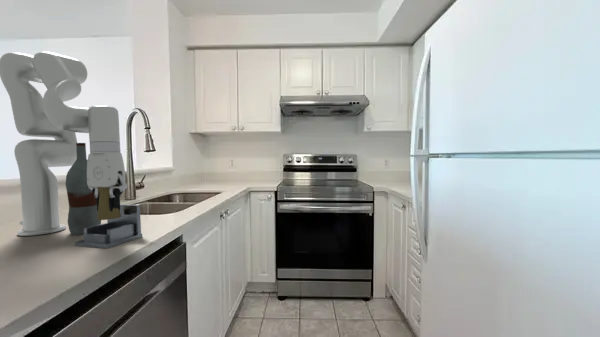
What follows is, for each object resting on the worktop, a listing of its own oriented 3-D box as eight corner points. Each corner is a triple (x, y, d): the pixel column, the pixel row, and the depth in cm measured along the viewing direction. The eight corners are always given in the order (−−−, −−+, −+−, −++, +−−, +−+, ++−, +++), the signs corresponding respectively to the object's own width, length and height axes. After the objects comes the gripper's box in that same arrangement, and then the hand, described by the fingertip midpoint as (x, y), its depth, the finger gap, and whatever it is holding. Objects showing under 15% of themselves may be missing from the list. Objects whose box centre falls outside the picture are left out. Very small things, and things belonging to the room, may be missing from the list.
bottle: (60, 235, 97) (55, 142, 96) (81, 228, 106) (77, 143, 105) (89, 235, 97) (84, 142, 95) (108, 228, 106) (103, 143, 105)
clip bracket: (74, 245, 85) (73, 210, 85) (112, 234, 97) (111, 203, 96) (107, 248, 82) (105, 211, 81) (142, 236, 93) (140, 204, 93)
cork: (109, 220, 85) (107, 181, 85) (91, 219, 86) (89, 181, 86) (126, 215, 91) (124, 179, 91) (109, 215, 92) (107, 180, 92)
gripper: (71, 149, 87) (75, 212, 87) (116, 147, 82) (119, 213, 83) (96, 150, 94) (99, 208, 95) (138, 147, 89) (141, 209, 90)
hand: (108, 210), depth 89 cm, fingers closed on cork, 3 cm apart
